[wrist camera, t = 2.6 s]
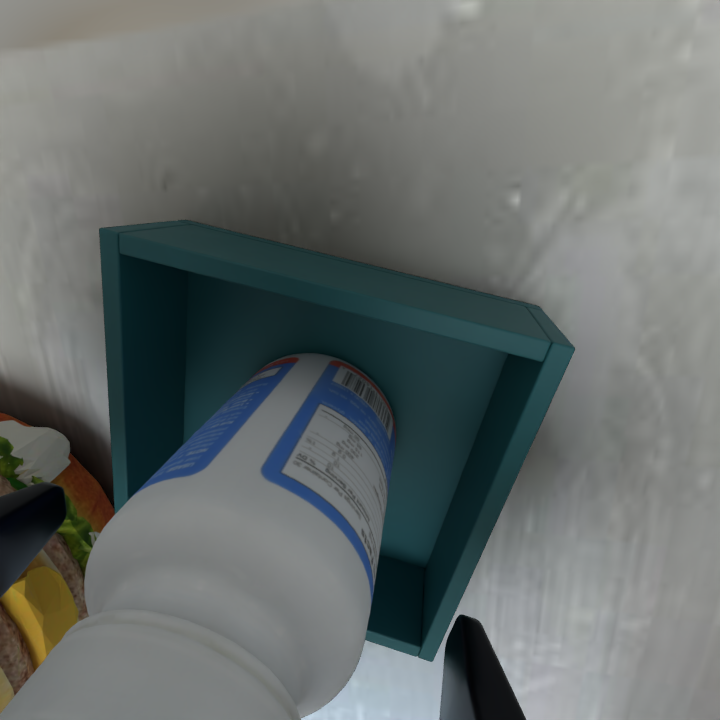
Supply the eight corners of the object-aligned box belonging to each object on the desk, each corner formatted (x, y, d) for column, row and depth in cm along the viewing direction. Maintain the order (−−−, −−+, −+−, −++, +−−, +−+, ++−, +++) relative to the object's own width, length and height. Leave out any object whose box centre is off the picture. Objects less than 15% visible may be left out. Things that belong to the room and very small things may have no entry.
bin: (540, 306, 12) (576, 347, 8) (434, 570, 16) (432, 663, 13) (184, 219, 13) (98, 227, 9) (177, 490, 17) (116, 558, 14)
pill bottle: (250, 476, 15) (-11, 862, 6) (238, 341, 13) (-168, 634, 4) (396, 498, 15) (322, 979, 6) (406, 357, 12) (318, 763, 4)
